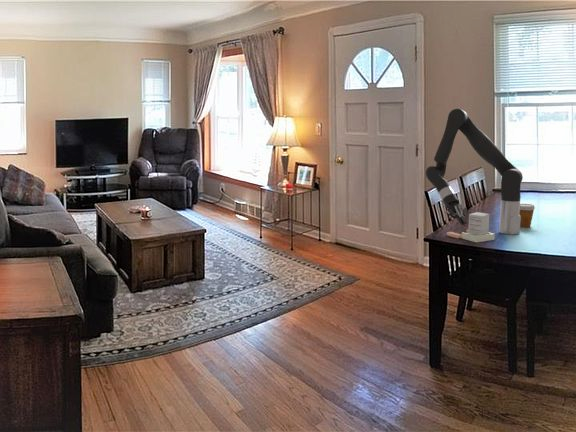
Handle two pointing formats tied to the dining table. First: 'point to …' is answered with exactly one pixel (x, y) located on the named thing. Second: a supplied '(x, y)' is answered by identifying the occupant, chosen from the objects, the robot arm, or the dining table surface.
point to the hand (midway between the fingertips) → (464, 224)
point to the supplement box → (478, 224)
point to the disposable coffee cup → (526, 215)
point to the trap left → (454, 234)
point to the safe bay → (478, 237)
